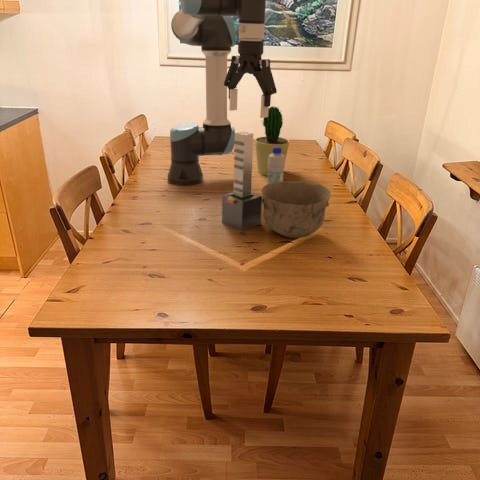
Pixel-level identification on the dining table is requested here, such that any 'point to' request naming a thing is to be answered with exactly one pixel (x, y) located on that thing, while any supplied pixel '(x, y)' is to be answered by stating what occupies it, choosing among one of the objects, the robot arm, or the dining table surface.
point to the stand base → (241, 211)
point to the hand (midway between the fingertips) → (248, 113)
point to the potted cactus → (270, 139)
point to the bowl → (295, 207)
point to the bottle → (276, 166)
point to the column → (243, 165)
